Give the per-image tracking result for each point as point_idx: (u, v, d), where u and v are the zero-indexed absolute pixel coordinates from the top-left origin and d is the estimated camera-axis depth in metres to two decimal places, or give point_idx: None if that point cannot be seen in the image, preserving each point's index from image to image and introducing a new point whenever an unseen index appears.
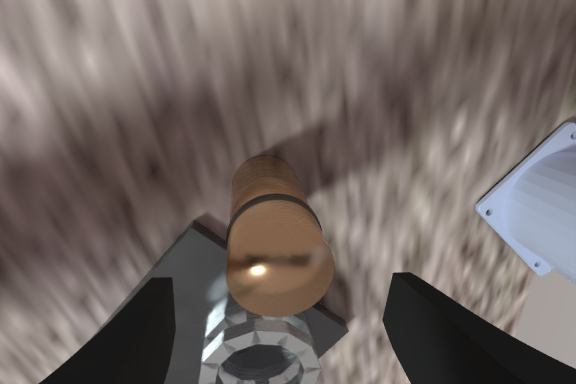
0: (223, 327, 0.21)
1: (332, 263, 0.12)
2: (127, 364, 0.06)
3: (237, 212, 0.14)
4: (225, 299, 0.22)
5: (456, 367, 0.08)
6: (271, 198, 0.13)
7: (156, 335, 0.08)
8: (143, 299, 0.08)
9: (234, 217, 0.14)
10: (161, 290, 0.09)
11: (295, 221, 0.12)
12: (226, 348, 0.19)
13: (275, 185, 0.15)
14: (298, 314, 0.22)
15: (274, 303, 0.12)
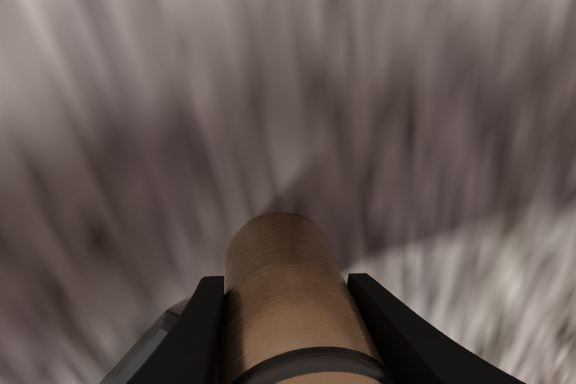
0: None
1: None
2: (206, 360, 0.07)
3: None
4: None
5: (397, 371, 0.08)
6: (310, 371, 0.06)
7: (217, 332, 0.08)
8: (204, 297, 0.09)
9: None
10: (219, 288, 0.09)
11: None
12: None
13: (308, 309, 0.07)
14: None
15: None
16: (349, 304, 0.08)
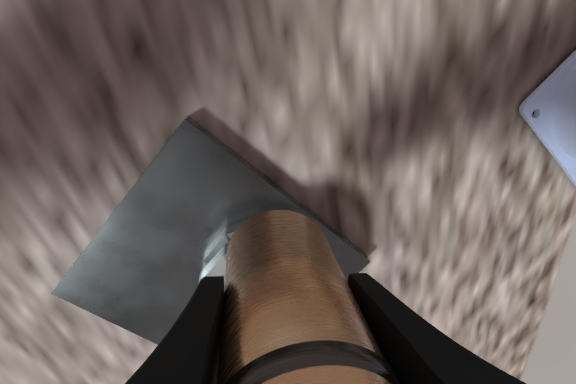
0: None
1: None
2: (206, 360, 0.07)
3: None
4: (226, 216, 0.18)
5: (397, 371, 0.08)
6: (310, 364, 0.06)
7: (217, 332, 0.08)
8: (204, 297, 0.09)
9: None
10: (218, 289, 0.09)
11: None
12: None
13: (308, 303, 0.07)
14: None
15: None
16: (349, 299, 0.08)
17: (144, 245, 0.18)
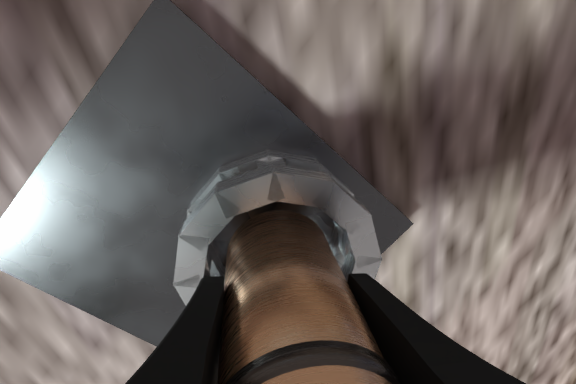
0: None
1: None
2: (206, 359, 0.07)
3: None
4: (221, 150, 0.13)
5: (397, 371, 0.08)
6: (310, 364, 0.06)
7: (217, 332, 0.08)
8: (204, 297, 0.09)
9: None
10: (219, 289, 0.09)
11: None
12: (222, 206, 0.11)
13: (308, 304, 0.07)
14: (340, 181, 0.14)
15: None
16: (349, 299, 0.08)
17: (104, 189, 0.13)
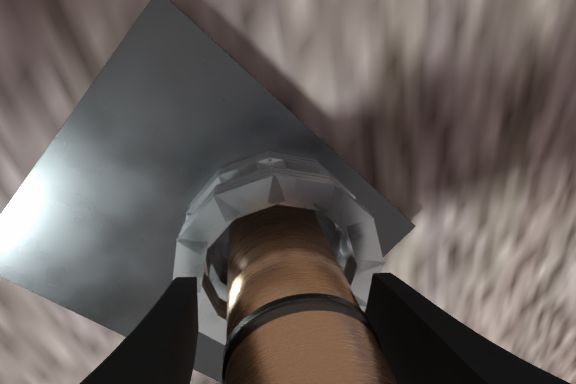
0: None
1: None
2: (164, 362, 0.07)
3: (240, 328, 0.08)
4: (220, 152, 0.13)
5: (429, 369, 0.08)
6: (302, 309, 0.08)
7: (185, 334, 0.08)
8: (172, 298, 0.08)
9: (235, 338, 0.08)
10: (188, 289, 0.09)
11: None
12: (221, 210, 0.11)
13: (300, 267, 0.09)
14: (341, 183, 0.13)
15: None
16: (334, 266, 0.10)
17: (102, 192, 0.13)
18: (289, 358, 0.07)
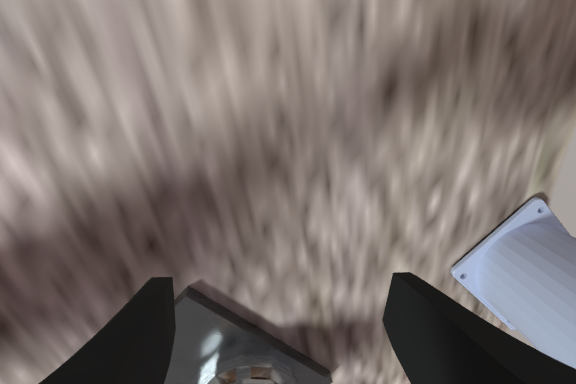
0: (214, 383, 0.23)
1: None
2: (127, 364, 0.06)
3: None
4: (216, 356, 0.23)
5: (456, 367, 0.08)
6: None
7: (156, 335, 0.08)
8: (143, 299, 0.08)
9: None
10: (161, 290, 0.09)
11: None
12: None
13: None
14: (284, 370, 0.24)
15: None
16: None
17: None
18: None
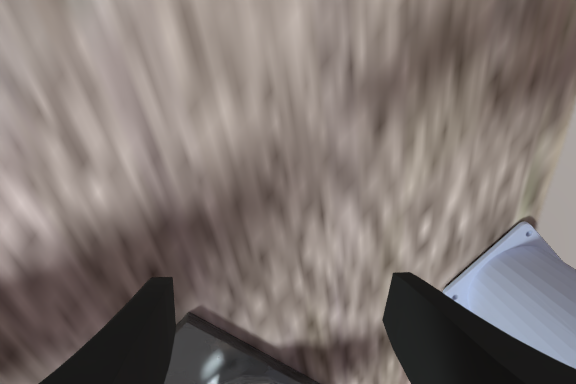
0: None
1: None
2: (127, 364, 0.06)
3: None
4: (217, 377, 0.24)
5: (456, 367, 0.08)
6: None
7: (156, 335, 0.08)
8: (143, 299, 0.08)
9: None
10: (161, 290, 0.09)
11: None
12: None
13: None
14: None
15: None
16: None
17: None
18: None
